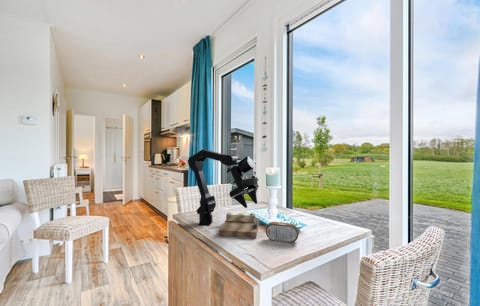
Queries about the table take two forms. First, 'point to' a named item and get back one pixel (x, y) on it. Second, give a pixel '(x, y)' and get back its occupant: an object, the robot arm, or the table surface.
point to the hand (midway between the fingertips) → (251, 205)
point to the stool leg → (240, 217)
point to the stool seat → (239, 229)
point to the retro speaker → (282, 232)
